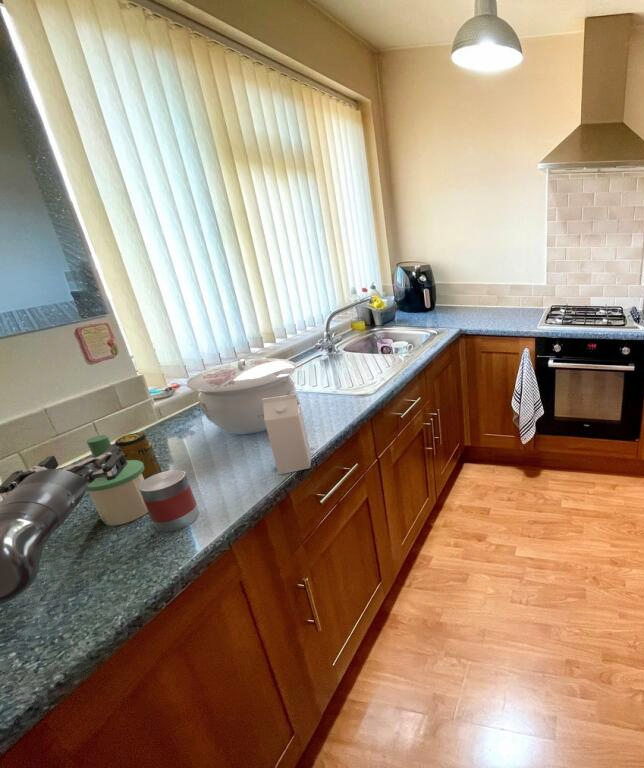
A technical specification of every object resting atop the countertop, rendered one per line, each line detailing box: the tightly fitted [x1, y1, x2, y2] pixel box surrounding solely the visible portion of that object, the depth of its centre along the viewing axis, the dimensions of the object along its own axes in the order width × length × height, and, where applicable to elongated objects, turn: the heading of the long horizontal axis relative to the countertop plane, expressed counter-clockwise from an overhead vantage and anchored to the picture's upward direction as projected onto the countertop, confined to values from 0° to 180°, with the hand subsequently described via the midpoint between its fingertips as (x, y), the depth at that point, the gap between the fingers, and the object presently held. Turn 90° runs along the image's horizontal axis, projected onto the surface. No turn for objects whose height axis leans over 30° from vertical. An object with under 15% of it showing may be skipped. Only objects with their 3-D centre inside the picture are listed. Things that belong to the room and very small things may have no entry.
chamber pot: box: [186, 357, 297, 435], centre depth 120 cm, size 28×28×21 cm
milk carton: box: [262, 393, 312, 475], centre depth 99 cm, size 7×7×19 cm
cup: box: [87, 473, 149, 526], centre depth 84 cm, size 8×8×9 cm
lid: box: [86, 434, 144, 492], centre depth 81 cm, size 10×10×9 cm
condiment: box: [114, 432, 163, 480], centre depth 94 cm, size 7×8×12 cm
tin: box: [139, 469, 200, 533], centre depth 82 cm, size 7×7×10 cm
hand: (84, 454), depth 75 cm, fingers open, 8 cm apart
